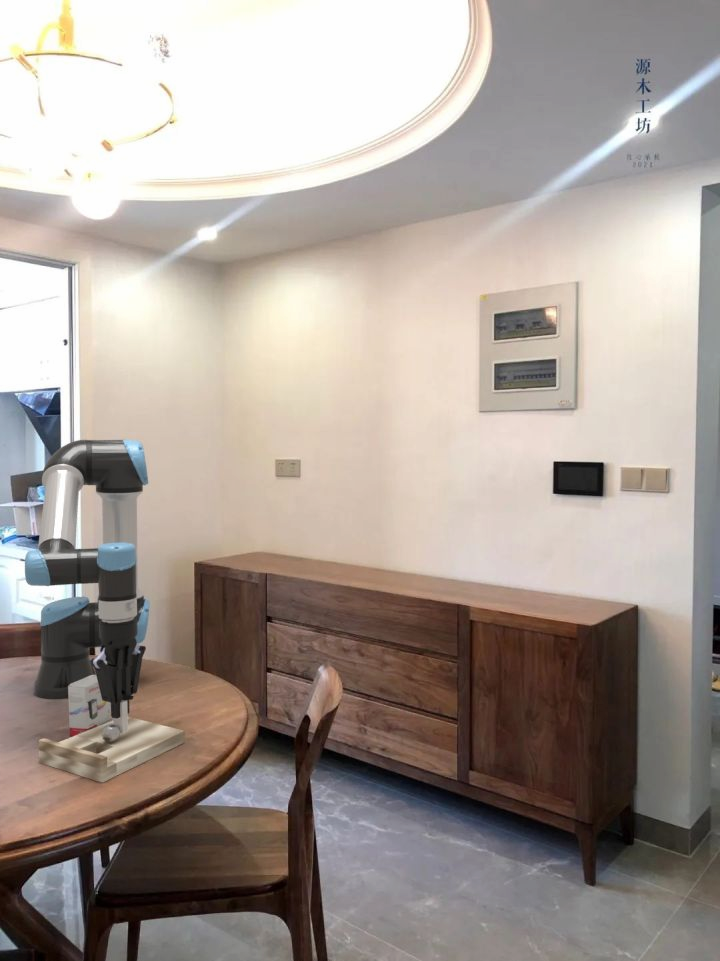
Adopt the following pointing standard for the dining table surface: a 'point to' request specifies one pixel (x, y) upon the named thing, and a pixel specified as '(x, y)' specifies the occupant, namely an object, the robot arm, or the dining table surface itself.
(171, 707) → the dining table surface
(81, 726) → the ink box
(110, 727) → the ball
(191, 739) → the dining table surface
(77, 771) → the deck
